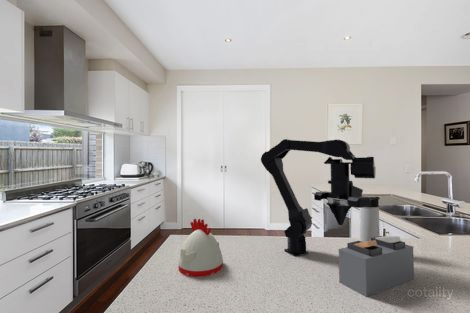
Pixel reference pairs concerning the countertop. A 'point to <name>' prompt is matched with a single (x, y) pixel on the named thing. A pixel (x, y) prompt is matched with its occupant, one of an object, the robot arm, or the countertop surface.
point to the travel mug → (369, 220)
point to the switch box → (375, 266)
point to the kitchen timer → (200, 252)
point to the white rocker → (389, 239)
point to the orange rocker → (366, 244)
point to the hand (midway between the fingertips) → (340, 224)
